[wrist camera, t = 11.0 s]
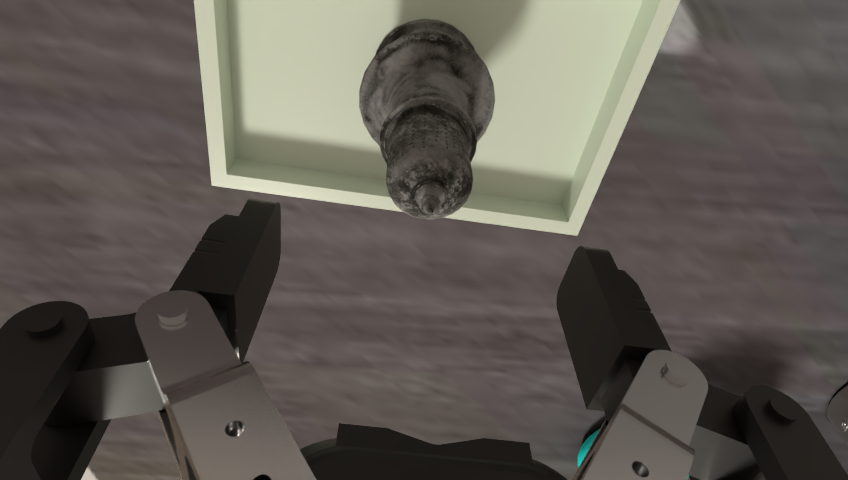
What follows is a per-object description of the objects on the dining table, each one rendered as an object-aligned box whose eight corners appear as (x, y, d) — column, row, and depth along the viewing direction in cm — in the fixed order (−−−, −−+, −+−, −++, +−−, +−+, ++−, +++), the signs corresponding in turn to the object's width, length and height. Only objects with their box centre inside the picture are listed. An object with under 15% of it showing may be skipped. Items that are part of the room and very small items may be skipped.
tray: (675, -51, 22) (699, -43, 20) (567, 212, 30) (577, 235, 28) (201, -148, 20) (179, -149, 18) (225, 164, 28) (211, 185, 26)
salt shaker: (375, -2, 22) (343, 99, 13) (501, 27, 23) (560, 142, 14) (358, 120, 26) (322, 270, 16) (468, 141, 27) (495, 298, 17)
